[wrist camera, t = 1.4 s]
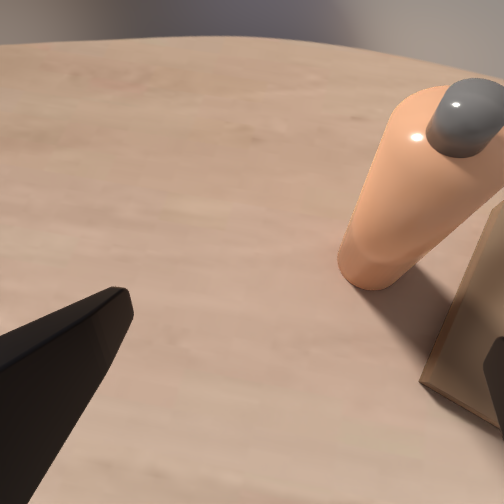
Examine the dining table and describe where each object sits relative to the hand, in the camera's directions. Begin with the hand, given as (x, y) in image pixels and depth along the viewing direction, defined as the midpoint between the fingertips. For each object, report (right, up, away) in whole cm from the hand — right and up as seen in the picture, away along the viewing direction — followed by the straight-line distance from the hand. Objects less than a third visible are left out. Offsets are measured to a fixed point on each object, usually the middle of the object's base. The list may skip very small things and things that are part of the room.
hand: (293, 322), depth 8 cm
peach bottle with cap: (+8, +1, +15) cm, 17 cm away
